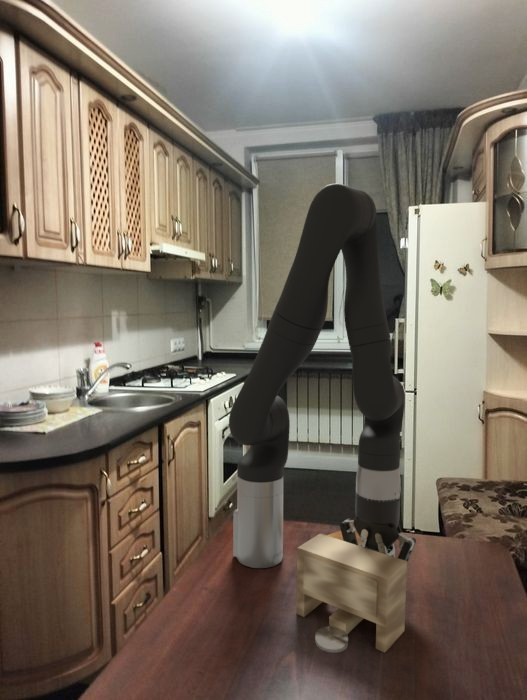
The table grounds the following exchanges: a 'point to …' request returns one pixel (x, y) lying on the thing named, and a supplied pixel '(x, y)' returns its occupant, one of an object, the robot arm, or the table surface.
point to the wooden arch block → (353, 584)
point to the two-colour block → (345, 616)
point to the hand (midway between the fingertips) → (375, 584)
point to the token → (331, 639)
